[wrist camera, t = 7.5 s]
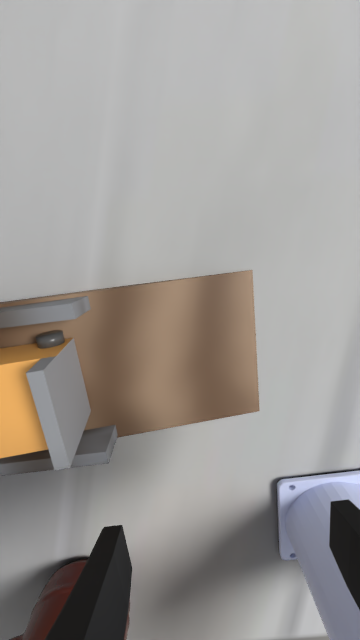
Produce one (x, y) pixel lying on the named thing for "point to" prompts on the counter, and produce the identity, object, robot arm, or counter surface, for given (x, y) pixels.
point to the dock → (147, 356)
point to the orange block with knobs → (42, 399)
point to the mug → (55, 601)
